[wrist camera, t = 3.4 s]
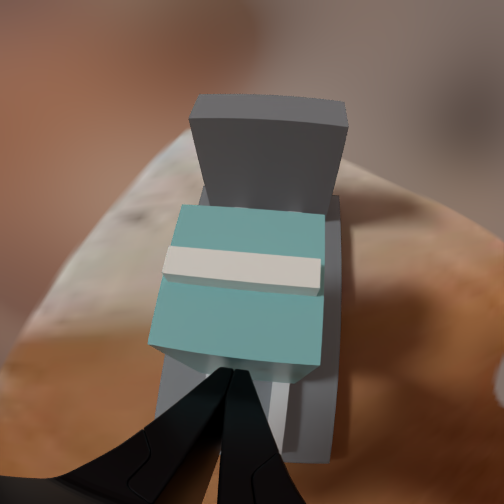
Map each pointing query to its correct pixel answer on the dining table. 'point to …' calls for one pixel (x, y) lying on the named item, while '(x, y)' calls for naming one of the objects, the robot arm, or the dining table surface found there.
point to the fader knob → (243, 292)
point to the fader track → (280, 199)
